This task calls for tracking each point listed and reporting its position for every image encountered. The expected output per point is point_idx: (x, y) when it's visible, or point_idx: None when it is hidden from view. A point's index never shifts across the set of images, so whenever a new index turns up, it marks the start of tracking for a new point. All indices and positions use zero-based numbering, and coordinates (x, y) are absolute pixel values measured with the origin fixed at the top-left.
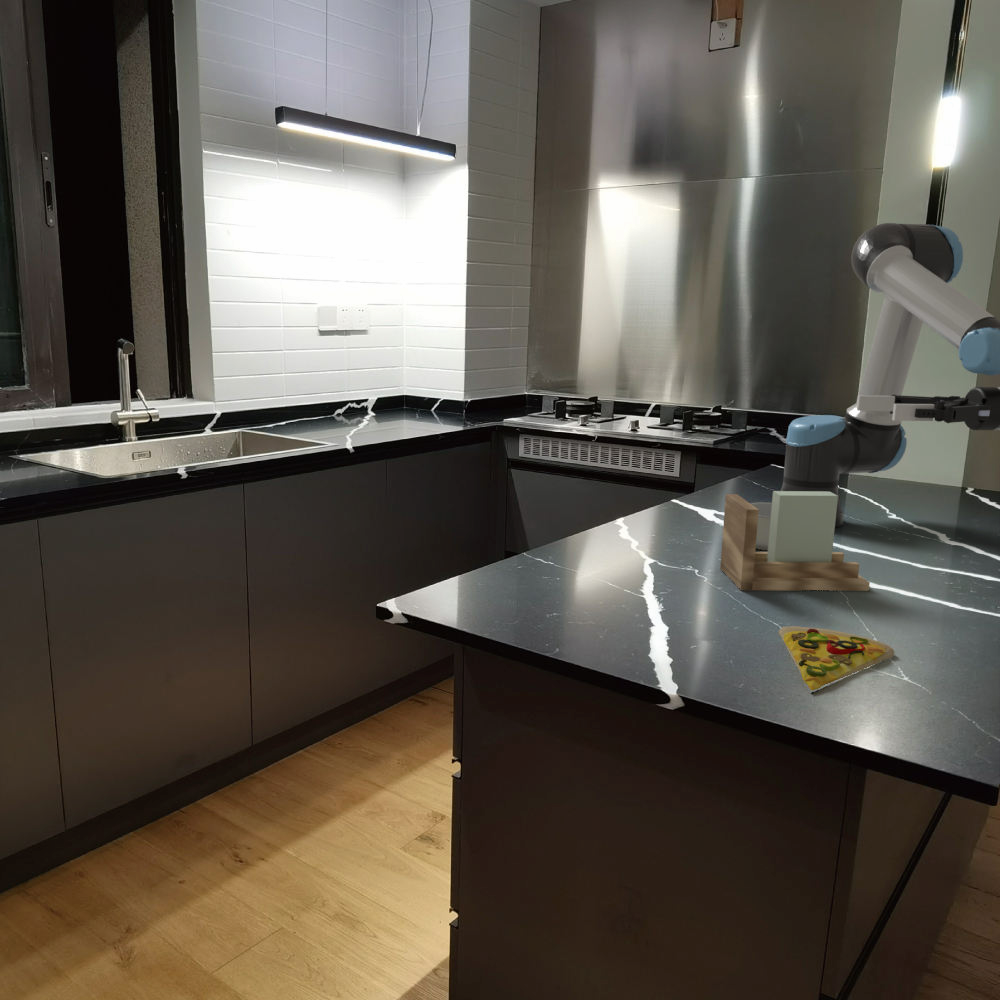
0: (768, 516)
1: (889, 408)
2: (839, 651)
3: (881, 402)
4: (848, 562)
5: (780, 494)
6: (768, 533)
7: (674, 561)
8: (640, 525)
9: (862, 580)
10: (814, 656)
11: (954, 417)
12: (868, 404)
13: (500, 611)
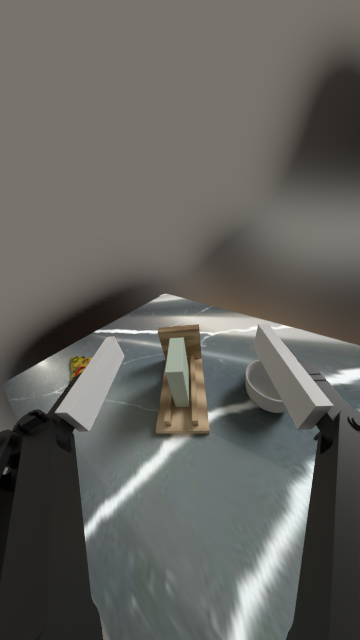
0: None
1: (292, 410)
2: (79, 369)
3: (281, 375)
4: (168, 413)
5: (172, 339)
6: (245, 380)
7: (212, 341)
8: (286, 334)
9: (160, 427)
10: (84, 362)
11: (2, 475)
12: (264, 352)
13: (157, 306)
